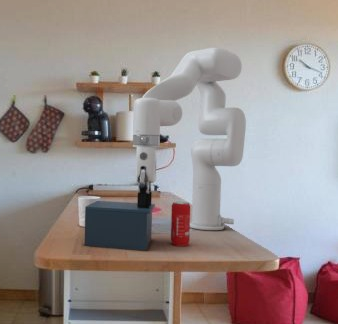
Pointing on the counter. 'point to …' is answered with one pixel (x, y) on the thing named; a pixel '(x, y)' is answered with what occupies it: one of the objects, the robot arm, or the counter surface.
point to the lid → (118, 207)
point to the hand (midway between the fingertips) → (144, 205)
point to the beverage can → (180, 223)
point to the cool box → (118, 229)
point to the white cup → (84, 202)
